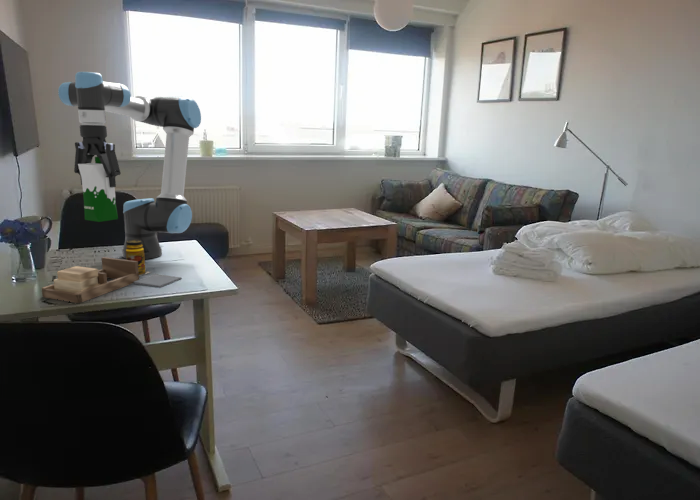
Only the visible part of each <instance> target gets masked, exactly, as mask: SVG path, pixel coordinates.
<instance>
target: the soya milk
mask: <svg viewBox="0 0 700 500" xmlns="http://www.w3.org/2000/svg"><path fill="white" fill-rule="evenodd" d="M78 166H79V170H80V174H81V178H82V185H81V186H82V195H83V196H82V197H83V208H84V209H83V210H84V220H85V221H89V222H97V223H101V222H108V221H113V220H118V219H119V216H118V209H117V203H116V196H115V197H113V198H107V191H106V179H105V177H106V176H107V174H106V172H105V170H104V167H103V164H102V163H101V161H100V159H99V158H98V157H97V156H94V162H91V163H88V164H78ZM110 173H111V172H110ZM81 178H80V179H81Z"/></svg>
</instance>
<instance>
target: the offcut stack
mask: <svg viewBox="0 0 700 500" xmlns="http://www.w3.org/2000/svg"><path fill="white" fill-rule="evenodd" d="M98 270H99V269H98V268H94V267H87V266H86V267H85V266H79V265H78V266H77V265H75V266H70V267H67V268H64V269H61V270H58V271H57V272H56V273H57V278H55V279H53V284H54V290H59V291H65V292H72V293H77V292H80V291H83V290H86V289H88V288H91V287H94V286H97V285H100V284H98Z"/></svg>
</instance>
